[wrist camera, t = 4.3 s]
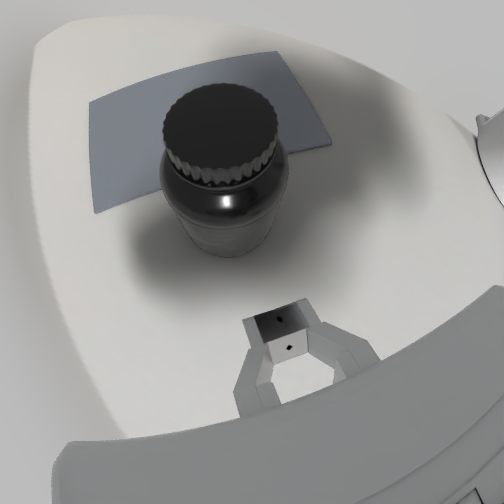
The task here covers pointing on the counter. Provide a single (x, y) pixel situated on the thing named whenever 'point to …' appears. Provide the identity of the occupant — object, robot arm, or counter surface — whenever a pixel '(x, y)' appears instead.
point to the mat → (158, 104)
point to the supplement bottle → (223, 166)
